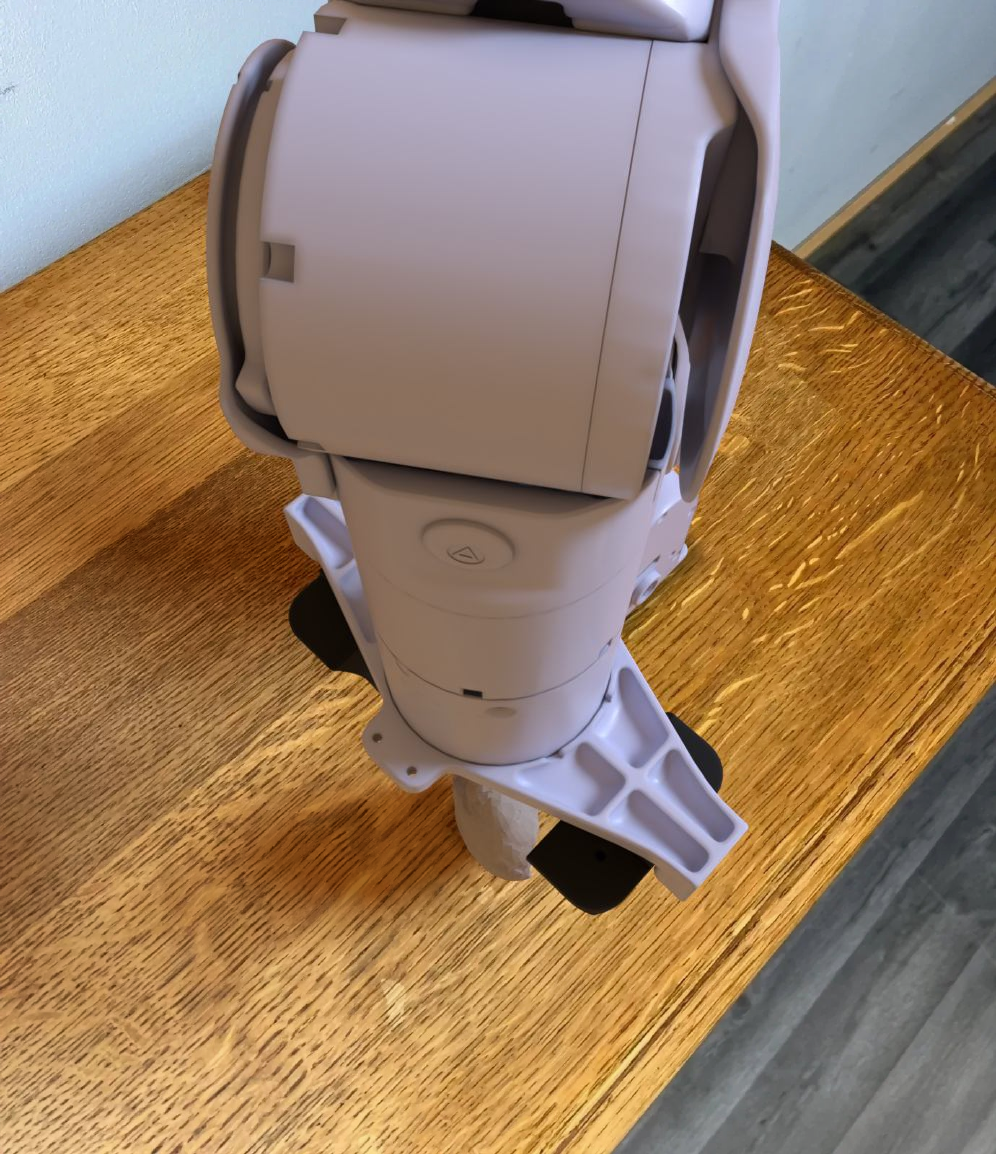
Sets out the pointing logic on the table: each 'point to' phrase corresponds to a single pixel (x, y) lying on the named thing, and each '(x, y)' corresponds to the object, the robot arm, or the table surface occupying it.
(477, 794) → the fossil
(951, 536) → the table surface
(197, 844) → the table surface
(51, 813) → the table surface
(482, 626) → the robot arm
